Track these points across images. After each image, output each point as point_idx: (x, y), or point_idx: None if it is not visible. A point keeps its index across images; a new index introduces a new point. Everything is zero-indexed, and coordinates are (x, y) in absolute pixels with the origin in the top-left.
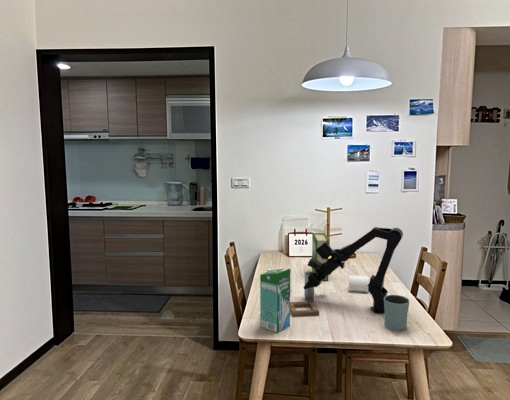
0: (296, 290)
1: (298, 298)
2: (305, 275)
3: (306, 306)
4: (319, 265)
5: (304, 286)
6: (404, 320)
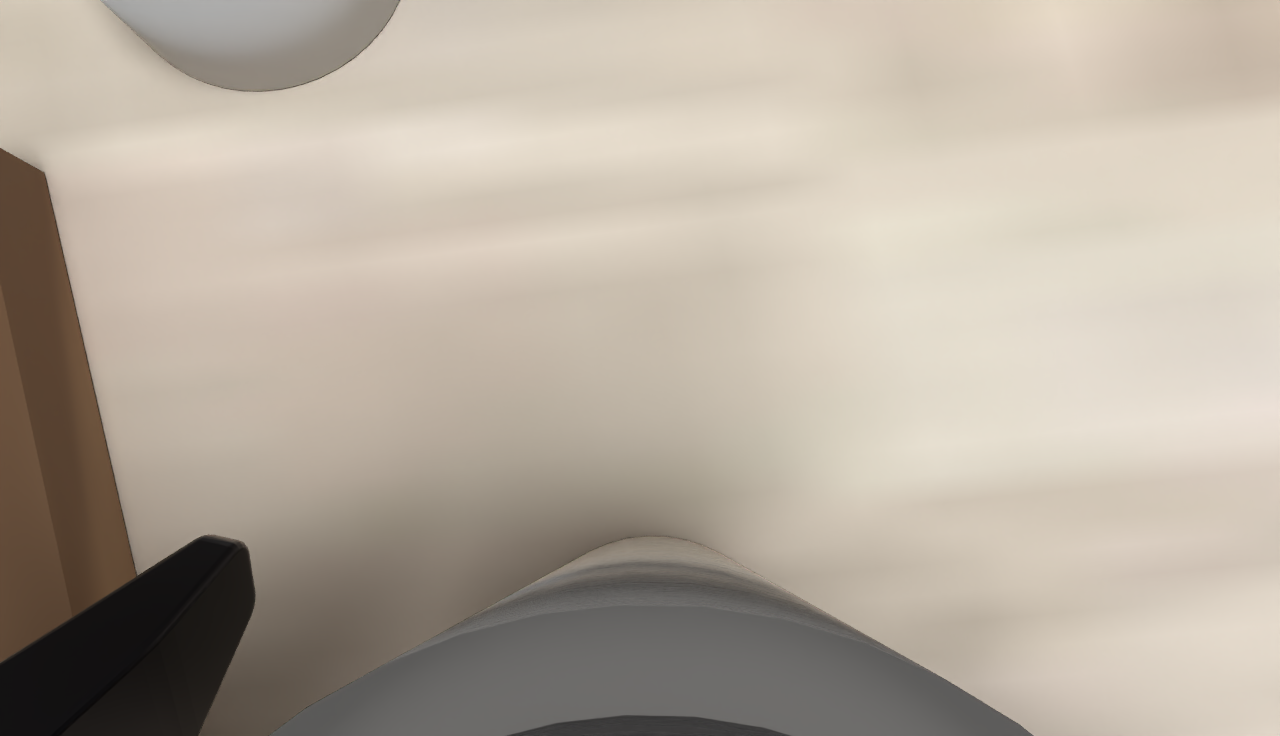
0: (1274, 234)
1: (650, 364)
2: (303, 712)
3: None
4: None
5: (121, 596)
6: None
